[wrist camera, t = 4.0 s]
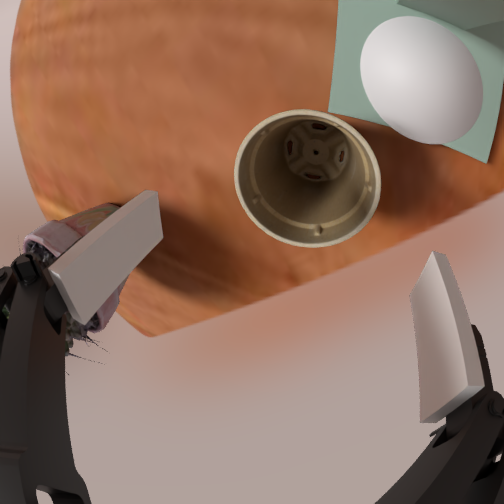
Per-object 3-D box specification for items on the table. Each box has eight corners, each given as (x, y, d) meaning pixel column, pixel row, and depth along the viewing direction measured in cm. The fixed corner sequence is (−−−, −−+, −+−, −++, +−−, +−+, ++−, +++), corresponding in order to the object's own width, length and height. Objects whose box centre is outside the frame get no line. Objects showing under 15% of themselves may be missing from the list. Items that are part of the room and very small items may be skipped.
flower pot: (351, 89, 19) (358, 92, 12) (378, 187, 23) (391, 236, 16) (251, 117, 23) (211, 137, 16) (285, 205, 27) (263, 256, 21)
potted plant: (120, 288, 47) (41, 391, 27) (65, 198, 37) (-43, 292, 18) (193, 283, 39) (97, 436, 20) (126, 159, 29) (-46, 292, 10)
